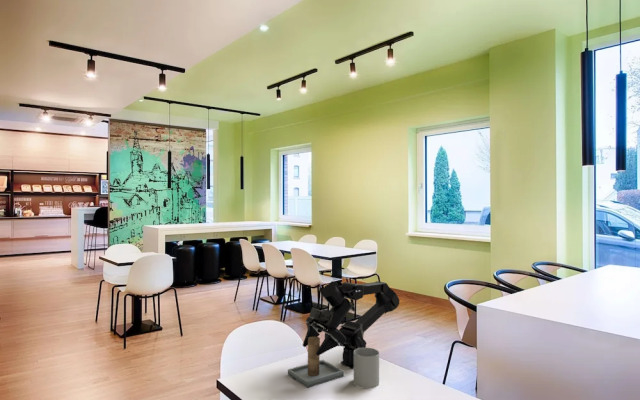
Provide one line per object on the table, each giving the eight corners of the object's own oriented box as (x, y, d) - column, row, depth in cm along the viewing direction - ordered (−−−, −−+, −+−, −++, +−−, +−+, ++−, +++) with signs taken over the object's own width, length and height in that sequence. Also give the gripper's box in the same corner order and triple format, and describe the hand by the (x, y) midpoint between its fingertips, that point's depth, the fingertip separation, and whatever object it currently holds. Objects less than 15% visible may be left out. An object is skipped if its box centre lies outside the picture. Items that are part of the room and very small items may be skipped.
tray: (322, 364, 147) (323, 359, 147) (343, 376, 137) (343, 370, 137) (287, 374, 138) (287, 369, 138) (307, 387, 128) (307, 382, 128)
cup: (378, 389, 128) (378, 357, 128) (352, 387, 129) (352, 355, 129) (379, 378, 136) (379, 348, 136) (355, 376, 137) (355, 346, 138)
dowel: (314, 370, 140) (315, 335, 140) (321, 374, 137) (322, 339, 137) (305, 373, 138) (305, 337, 138) (312, 377, 134) (312, 341, 134)
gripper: (310, 293, 147) (282, 328, 142) (338, 305, 131) (308, 345, 126) (328, 312, 151) (302, 347, 146) (358, 325, 135) (330, 365, 130)
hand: (310, 350), depth 136 cm, fingers open, 9 cm apart
